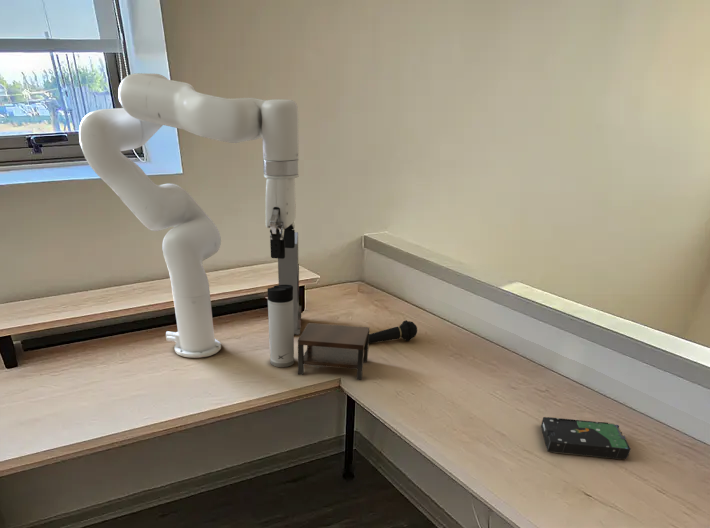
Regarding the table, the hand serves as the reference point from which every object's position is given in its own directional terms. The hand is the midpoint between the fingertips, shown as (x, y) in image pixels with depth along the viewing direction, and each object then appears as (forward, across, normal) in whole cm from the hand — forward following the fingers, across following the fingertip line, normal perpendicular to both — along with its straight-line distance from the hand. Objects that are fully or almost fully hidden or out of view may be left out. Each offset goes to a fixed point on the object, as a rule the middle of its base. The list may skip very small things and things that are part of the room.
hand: (283, 252), depth 129 cm
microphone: (+28, -20, +23) cm, 41 cm away
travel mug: (+28, 0, -1) cm, 28 cm away
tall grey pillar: (+28, -26, -5) cm, 38 cm away
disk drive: (+28, +26, +68) cm, 78 cm away
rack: (+28, 0, +13) cm, 30 cm away
